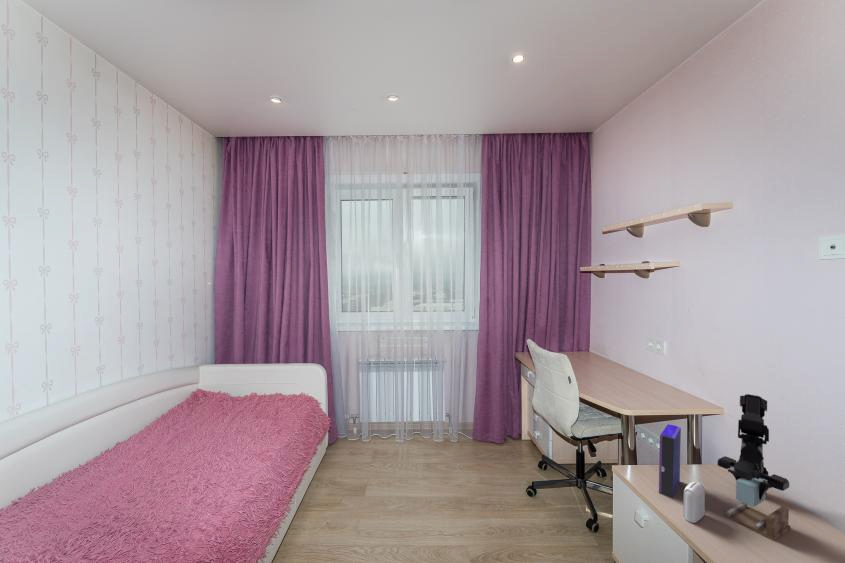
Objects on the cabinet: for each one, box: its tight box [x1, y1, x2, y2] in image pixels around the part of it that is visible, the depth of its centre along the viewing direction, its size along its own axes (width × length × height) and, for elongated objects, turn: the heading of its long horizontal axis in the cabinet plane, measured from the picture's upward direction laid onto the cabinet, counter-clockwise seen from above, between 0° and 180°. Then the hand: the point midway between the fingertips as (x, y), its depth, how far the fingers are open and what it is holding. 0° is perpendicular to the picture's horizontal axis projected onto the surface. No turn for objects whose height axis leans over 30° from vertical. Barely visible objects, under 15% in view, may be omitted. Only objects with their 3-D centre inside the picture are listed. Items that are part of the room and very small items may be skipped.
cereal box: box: [658, 424, 682, 499], centre depth 148 cm, size 17×5×24 cm, turn 136°
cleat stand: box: [722, 502, 791, 541], centre depth 127 cm, size 14×14×7 cm
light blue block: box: [735, 477, 767, 508], centre depth 129 cm, size 10×5×7 cm, turn 117°
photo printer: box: [682, 481, 706, 524], centre depth 129 cm, size 10×4×12 cm, turn 123°
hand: (751, 495), depth 129 cm, fingers closed on light blue block, 5 cm apart
